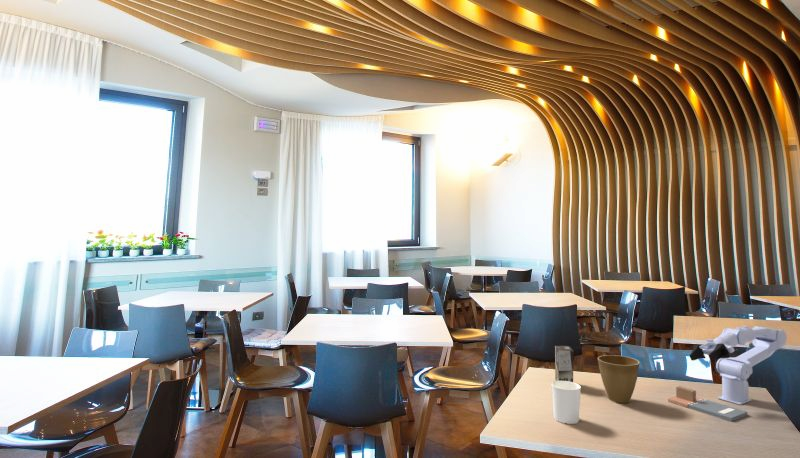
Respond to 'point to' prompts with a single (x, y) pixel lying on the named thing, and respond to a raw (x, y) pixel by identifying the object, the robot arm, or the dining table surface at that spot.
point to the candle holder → (566, 401)
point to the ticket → (718, 410)
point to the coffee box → (563, 363)
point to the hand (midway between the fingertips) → (700, 357)
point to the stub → (684, 397)
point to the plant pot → (618, 376)
